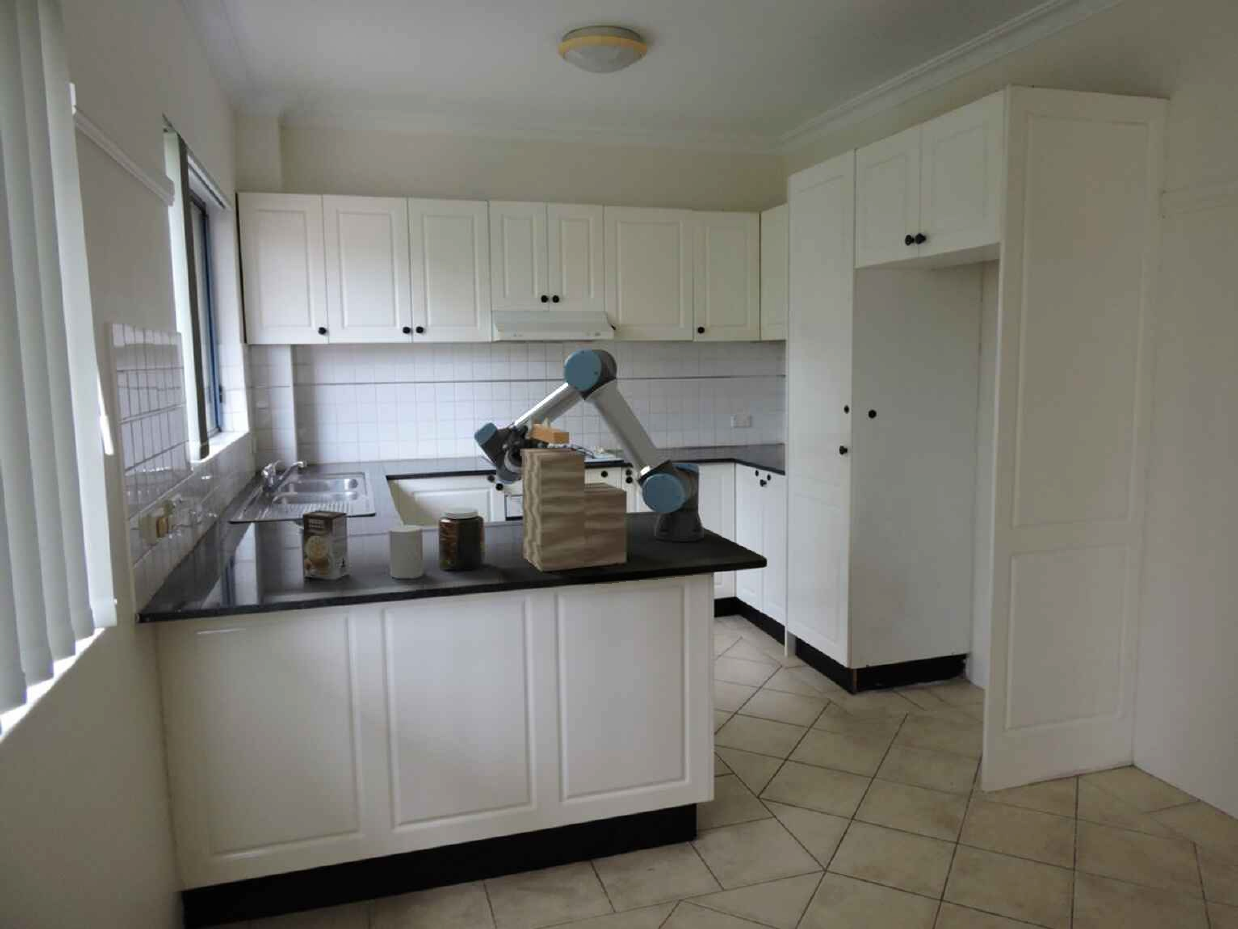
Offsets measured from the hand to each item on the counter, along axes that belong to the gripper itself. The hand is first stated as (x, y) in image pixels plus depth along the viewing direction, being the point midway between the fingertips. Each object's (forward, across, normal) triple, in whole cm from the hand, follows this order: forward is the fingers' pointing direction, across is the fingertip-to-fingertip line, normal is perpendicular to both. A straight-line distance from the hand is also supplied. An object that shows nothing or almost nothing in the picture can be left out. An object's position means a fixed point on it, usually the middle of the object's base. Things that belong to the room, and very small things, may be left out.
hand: (540, 422), depth 232 cm
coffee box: (-18, +57, -32) cm, 68 cm away
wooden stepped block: (-10, -6, -37) cm, 39 cm away
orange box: (+2, 0, -6) cm, 6 cm away
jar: (-15, +24, -34) cm, 44 cm away
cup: (-12, +39, -36) cm, 54 cm away
